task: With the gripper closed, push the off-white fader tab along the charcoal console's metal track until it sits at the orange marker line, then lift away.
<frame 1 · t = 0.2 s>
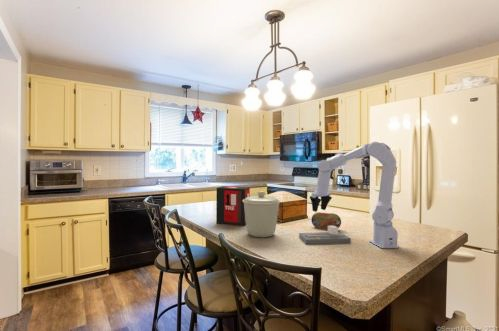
hand: (318, 210, 135), 11 cm above the worktop, tool pointing down, fingers open, 7 cm apart
cleaning product box: (233, 223, 151), on the worktop
fader console: (324, 240, 120), on the worktop
fader tab: (332, 230, 121), point 4 cm above the worktop, slide at 0.0 cm
canister: (260, 235, 128), on the worktop
tin: (326, 229, 140), on the worktop
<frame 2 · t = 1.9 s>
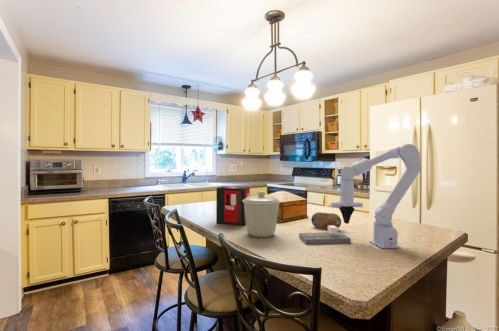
hand: (346, 223, 121), 8 cm above the worktop, tool pointing down, fingers closed
nothing on the worktop moved.
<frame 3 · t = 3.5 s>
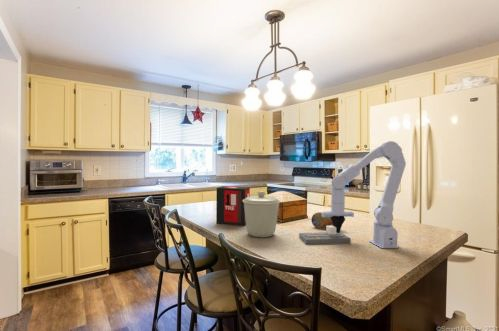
hand: (337, 232, 121), 3 cm above the worktop, tool pointing down, fingers closed
fader tab: (331, 230, 121), point 4 cm above the worktop, slide at 0.7 cm, touching gripper
everything else where it was.
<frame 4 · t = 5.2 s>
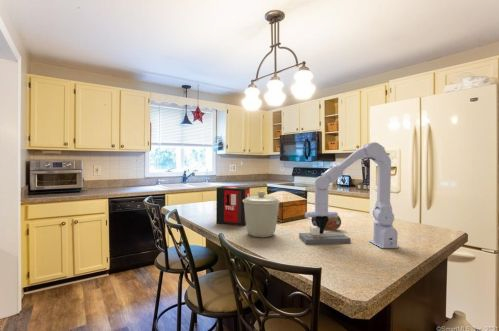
hand: (320, 233, 120), 3 cm above the worktop, tool pointing down, fingers closed
fader tab: (314, 231, 120), point 4 cm above the worktop, slide at 8.4 cm, touching gripper
everything else where it was.
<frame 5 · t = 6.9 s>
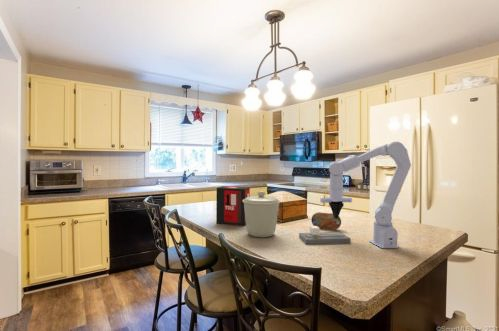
hand: (335, 218, 123), 9 cm above the worktop, tool pointing down, fingers closed
fader tab: (314, 231, 120), point 4 cm above the worktop, slide at 8.4 cm
everything else where it was.
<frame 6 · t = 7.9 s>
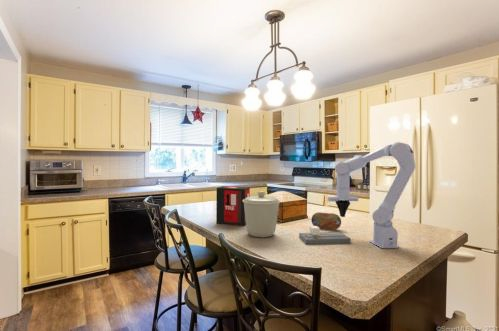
hand: (342, 216, 126), 9 cm above the worktop, tool pointing down, fingers closed
nothing on the worktop moved.
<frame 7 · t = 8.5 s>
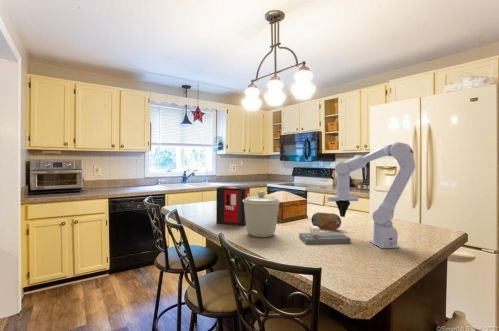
hand: (342, 216, 126), 9 cm above the worktop, tool pointing down, fingers closed
nothing on the worktop moved.
at the end: fader tab slide at 8.4 cm; tin moved 0.3 cm from its start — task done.
